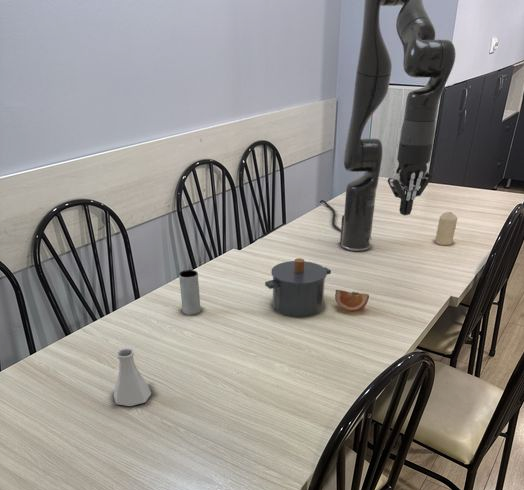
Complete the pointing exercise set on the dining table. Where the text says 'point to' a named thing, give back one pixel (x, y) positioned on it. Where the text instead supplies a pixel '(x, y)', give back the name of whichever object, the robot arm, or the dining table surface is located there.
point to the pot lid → (299, 272)
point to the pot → (297, 297)
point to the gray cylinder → (190, 292)
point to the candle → (446, 229)
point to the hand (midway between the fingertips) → (404, 214)
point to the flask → (129, 381)
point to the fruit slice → (351, 300)
